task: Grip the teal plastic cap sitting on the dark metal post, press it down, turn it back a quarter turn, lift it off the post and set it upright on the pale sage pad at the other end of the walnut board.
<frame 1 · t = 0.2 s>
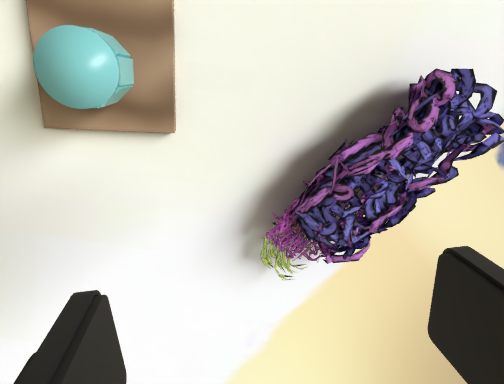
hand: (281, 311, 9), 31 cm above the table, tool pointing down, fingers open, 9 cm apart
decorative ornament: (349, 176, 42), on the table
post board: (106, 15, 33), on the table
teal cap: (100, 69, 31), point 3 cm above the table, touching post board
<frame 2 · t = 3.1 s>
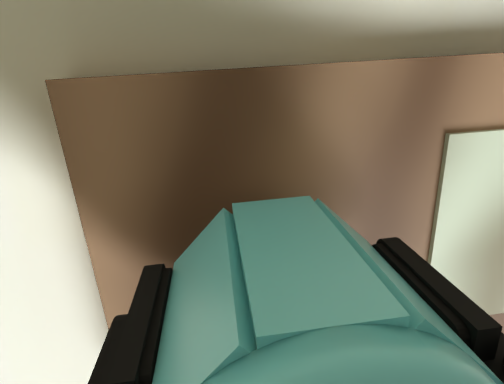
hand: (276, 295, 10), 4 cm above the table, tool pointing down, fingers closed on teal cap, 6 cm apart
post board: (375, 224, 14), on the table
teal cap: (274, 289, 10), point 3 cm above the table, touching gripper, post board
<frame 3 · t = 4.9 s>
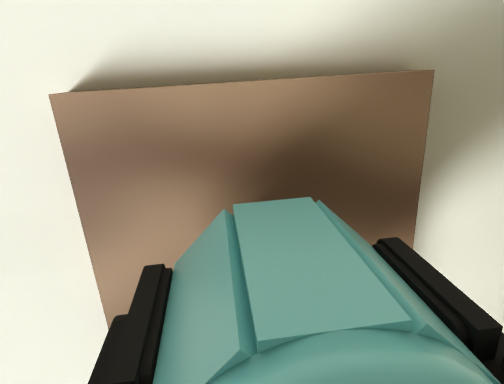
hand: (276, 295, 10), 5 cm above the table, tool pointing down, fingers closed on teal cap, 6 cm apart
post board: (261, 317, 16), on the table
teal cap: (275, 290, 10), point 5 cm above the table, touching gripper
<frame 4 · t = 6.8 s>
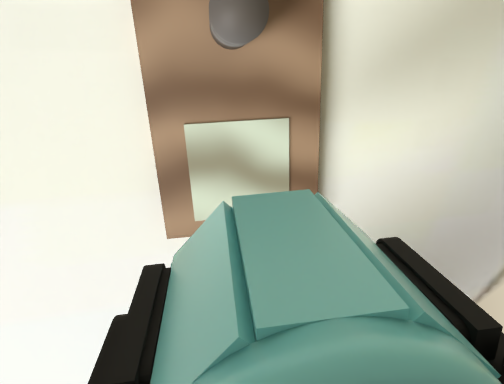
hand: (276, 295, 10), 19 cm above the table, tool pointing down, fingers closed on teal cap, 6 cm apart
post board: (234, 98, 26), on the table
teal cap: (274, 282, 10), point 19 cm above the table, touching gripper
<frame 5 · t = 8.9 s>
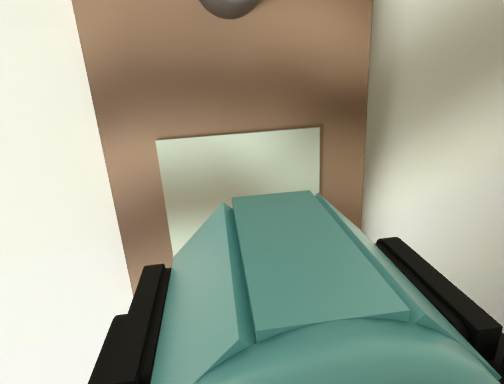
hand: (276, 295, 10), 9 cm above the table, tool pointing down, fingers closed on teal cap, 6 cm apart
post board: (234, 99, 17), on the table
teal cap: (274, 283, 10), point 9 cm above the table, touching gripper
when the fingers open (3 cm above the table, at t = 10.6 s): teal cap drops 1 cm, resting on post board.
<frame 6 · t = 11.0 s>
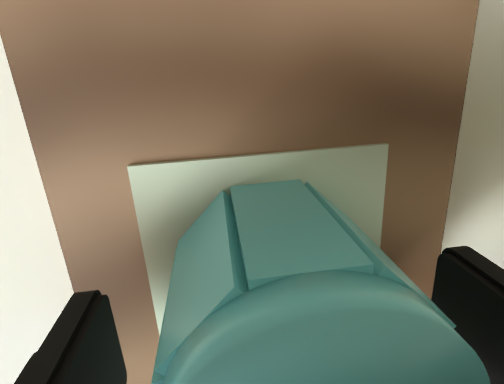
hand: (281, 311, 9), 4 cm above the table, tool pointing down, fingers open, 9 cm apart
post board: (253, 99, 11), on the table
teal cap: (269, 265, 11), point 2 cm above the table, touching post board
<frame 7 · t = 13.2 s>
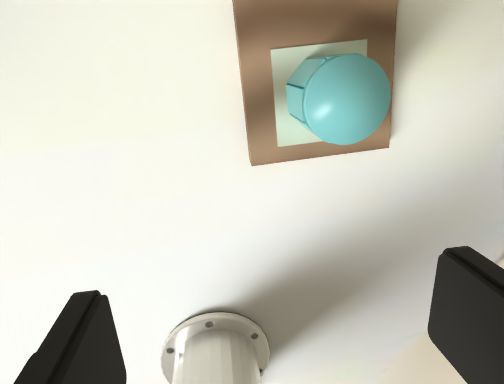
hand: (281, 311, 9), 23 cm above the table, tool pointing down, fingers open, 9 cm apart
post board: (312, 25, 28), on the table
teal cap: (321, 93, 28), point 2 cm above the table, touching post board
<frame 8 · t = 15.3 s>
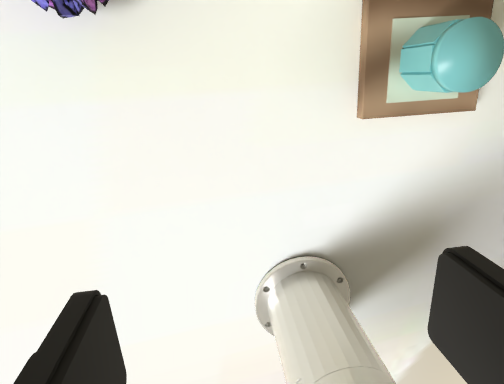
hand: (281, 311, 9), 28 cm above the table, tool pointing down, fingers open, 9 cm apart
post board: (423, 3, 34), on the table
teal cap: (427, 59, 34), point 2 cm above the table, touching post board
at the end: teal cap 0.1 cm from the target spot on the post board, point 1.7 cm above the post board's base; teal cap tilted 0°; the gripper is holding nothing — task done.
